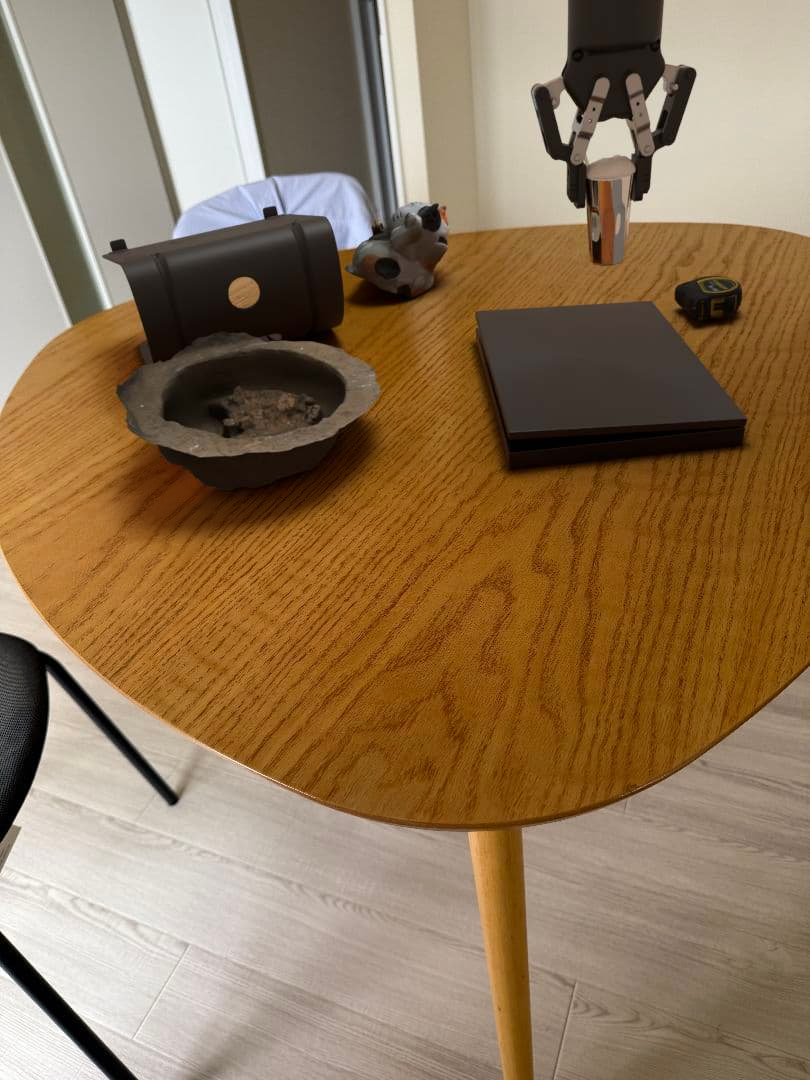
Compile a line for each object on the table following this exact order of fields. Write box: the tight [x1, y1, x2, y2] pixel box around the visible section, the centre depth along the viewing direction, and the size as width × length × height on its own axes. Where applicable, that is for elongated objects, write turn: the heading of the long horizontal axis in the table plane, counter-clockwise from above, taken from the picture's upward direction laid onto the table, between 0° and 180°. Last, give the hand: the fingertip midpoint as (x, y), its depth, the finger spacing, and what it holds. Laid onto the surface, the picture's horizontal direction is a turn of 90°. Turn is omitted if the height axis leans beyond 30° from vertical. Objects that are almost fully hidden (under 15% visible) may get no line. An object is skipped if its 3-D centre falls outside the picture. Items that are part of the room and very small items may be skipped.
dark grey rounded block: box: [101, 205, 345, 365], centre depth 98 cm, size 26×24×16 cm
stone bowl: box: [115, 332, 382, 491], centre depth 77 cm, size 25×25×9 cm
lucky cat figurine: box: [344, 200, 450, 299], centre depth 111 cm, size 15×12×14 cm
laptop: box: [475, 327, 746, 471], centre depth 82 cm, size 21×30×2 cm
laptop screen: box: [474, 300, 748, 440], centre depth 81 cm, size 21×30×1 cm
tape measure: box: [673, 275, 743, 322], centre depth 93 cm, size 7×7×4 cm
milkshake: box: [584, 153, 636, 267], centre depth 72 cm, size 4×5×10 cm
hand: (607, 202), depth 72 cm, fingers closed on milkshake, 4 cm apart
